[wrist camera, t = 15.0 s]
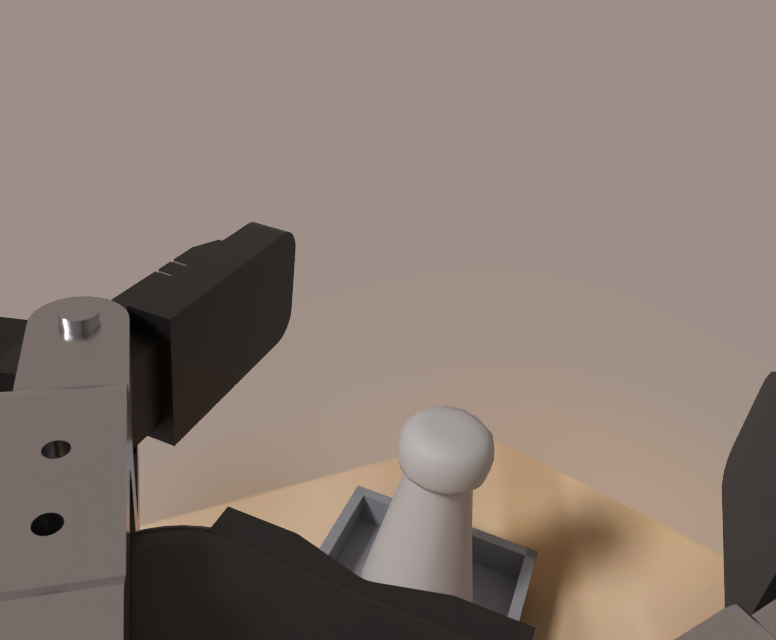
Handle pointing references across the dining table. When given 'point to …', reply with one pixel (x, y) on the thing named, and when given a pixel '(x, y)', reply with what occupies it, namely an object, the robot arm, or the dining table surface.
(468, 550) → the salt shaker
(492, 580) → the tray
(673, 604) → the dining table surface
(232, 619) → the robot arm
